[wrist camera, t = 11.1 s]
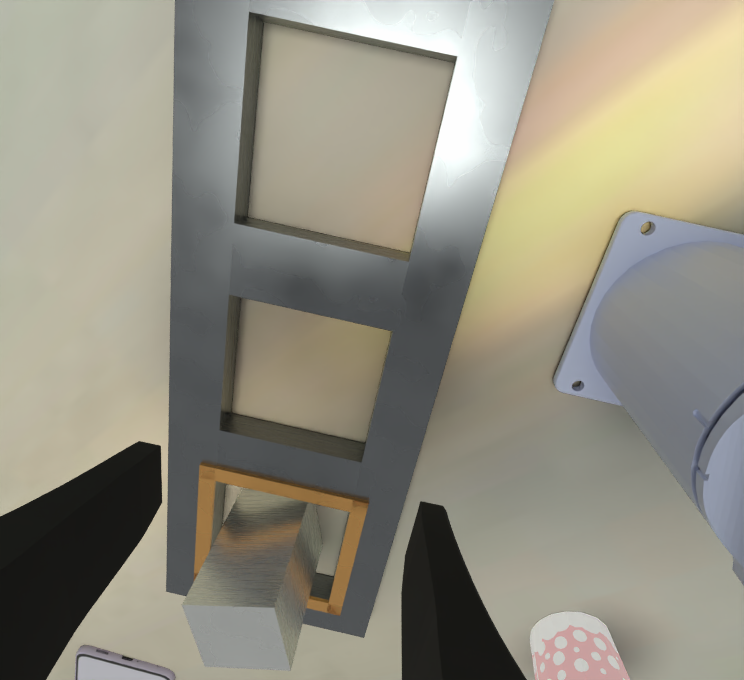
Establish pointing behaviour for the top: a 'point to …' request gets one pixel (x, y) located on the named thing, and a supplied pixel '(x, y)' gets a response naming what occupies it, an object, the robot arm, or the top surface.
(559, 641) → the beverage cup
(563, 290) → the top surface
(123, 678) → the smartphone
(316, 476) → the rail
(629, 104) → the top surface
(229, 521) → the block
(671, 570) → the top surface
